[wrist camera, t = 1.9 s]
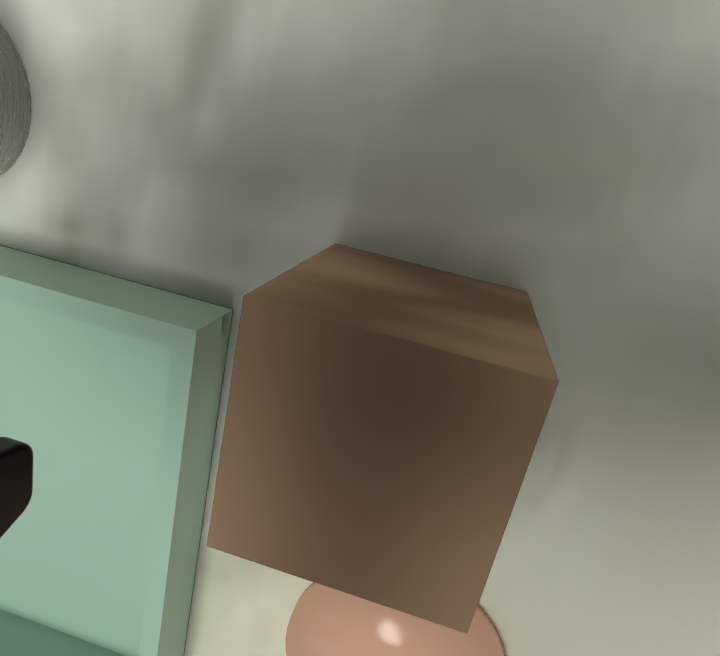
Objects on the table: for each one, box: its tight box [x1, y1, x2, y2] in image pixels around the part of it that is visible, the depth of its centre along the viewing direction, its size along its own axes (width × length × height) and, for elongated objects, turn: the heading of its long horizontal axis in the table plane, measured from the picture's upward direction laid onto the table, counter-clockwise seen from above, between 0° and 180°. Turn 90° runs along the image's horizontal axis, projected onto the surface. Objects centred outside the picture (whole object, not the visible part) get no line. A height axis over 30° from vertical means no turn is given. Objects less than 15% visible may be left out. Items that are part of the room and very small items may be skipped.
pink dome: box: [286, 582, 504, 656], centre depth 18 cm, size 7×7×1 cm
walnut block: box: [207, 244, 559, 634], centre depth 12 cm, size 5×5×6 cm
